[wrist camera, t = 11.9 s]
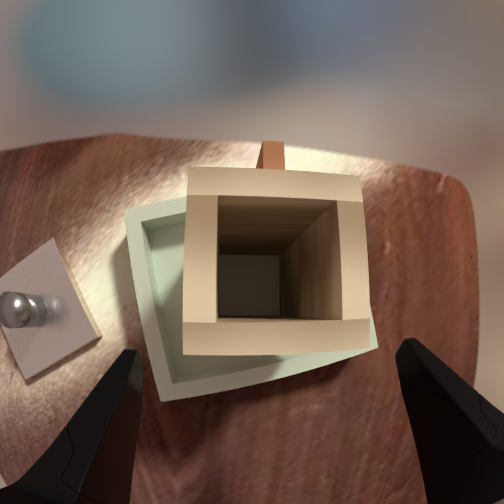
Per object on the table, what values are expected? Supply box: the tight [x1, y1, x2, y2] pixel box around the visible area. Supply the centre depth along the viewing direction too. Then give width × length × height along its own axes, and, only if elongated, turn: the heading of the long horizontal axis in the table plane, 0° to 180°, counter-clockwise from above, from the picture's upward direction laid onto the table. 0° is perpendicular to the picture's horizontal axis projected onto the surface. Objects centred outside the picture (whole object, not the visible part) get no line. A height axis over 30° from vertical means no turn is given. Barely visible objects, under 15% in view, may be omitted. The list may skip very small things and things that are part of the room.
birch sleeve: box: [183, 141, 370, 355], centre depth 15 cm, size 8×6×11 cm
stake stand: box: [0, 237, 103, 380], centre depth 17 cm, size 8×8×4 cm
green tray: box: [124, 172, 378, 402], centre depth 20 cm, size 12×14×3 cm
